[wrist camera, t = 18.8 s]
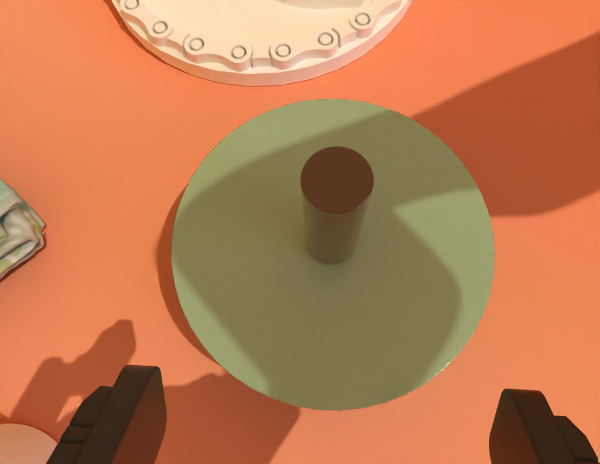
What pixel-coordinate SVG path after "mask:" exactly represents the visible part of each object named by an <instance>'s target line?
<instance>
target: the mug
mask: <svg viewBox="0 0 600 464" xmlns="http://www.w3.org/2000/svg"><path fill="white" fill-rule="evenodd" d="M57 444H58V443H57V442H56V441H55V440H53V439H52V438H51V437H50V436H48V435H47V434H45V433H44V432H42V431H40V430H38V429H36V428H33V427H30V426H27V425H22V424H0V464H46V463H47V461H48V459H49V457H50V456H51V454H52V452H53V451H54V449H55V447H56V446H57Z"/></svg>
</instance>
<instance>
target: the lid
mask: <svg viewBox="0 0 600 464" xmlns="http://www.w3.org/2000/svg"><path fill="white" fill-rule="evenodd" d="M171 259H172V272H173V278H174V285H175V289H176V292H177V296H178V299H179V302H180V305H181V308H182V310H183V312H184V315H185V317H186V319H187V321H188V323H189V326H190V327H191V329H192V330H193V332H194V334H195V335H196V337H197V338H198V340H199V341H200V343H201V344H202V346H203V347H204V348H205V349H206V350H207V351H208V353H209V354H210V355H211V356H212V357H213V359H214V360H215V361H216V362H217V363H218V364H220V365H221V366H222V367H223V368H224V369H225V370H226V371H227V372H228V373H230V374H231V375H232V376H233V377H235V378H236V379H238V380H239V381H241V382H242V383H244V384H245V385H247V386H248V387H250V388H251V389H253V390H255V391H257V392H259V393H261V394H264V395H266V396H268V397H270V398H272V399H275V400H278V401H281V402H284V403H287V404H290V405H293V406H298V407H304V408H310V409H315V410H337V411H341V410H351V409H361V408H366V407H370V406H374V405H379V404H383V403H386V402H389V401H391V400H394V399H396V398H399V397H401V396H404V395H406V394H408V393H410V392H412V391H413V390H415V389H417V388H419V387H420V386H422V385H424V384H426V383H427V382H429V381H430V380H431V379H432V378H434V377H435V376H436V375H437V374H439V373H440V372H441V371H443V370H444V369H445V368H446V367H447V366H448V365H449V364H450V363H451V362H452V361H453V360H454V359H455V358H456V357H457V355H458V354H459V353H460V352H461V351H462V349H463V348H464V347H465V345H466V344H467V342H468V341H469V340H470V338H471V337H472V335H473V334H474V332H475V330H476V328H477V326H478V324H479V322H480V320H481V318H482V316H483V314H484V311H485V308H486V305H487V302H488V299H489V296H490V292H491V287H492V282H493V277H494V263H495V248H494V236H493V230H492V226H491V221H490V217H489V213H488V210H487V207H486V205H485V202H484V199H483V196H482V194H481V192H480V190H479V188H478V186H477V184H476V182H475V181H474V179H473V177H472V175H471V174H470V172H469V171H468V170H467V168H466V167H465V165H464V164H463V162H462V161H461V160H460V159H459V158H458V156H457V155H456V154H455V153H454V152H453V151H452V150H451V149H450V148H449V147H448V145H446V144H445V143H444V142H443V141H442V140H441V139H439V138H438V137H437V136H436V135H435V134H434V133H432V132H431V131H429V130H428V129H426V128H425V127H423V126H422V125H420V124H419V123H418V122H416V121H414V120H412V119H410V118H408V117H406V116H404V115H402V114H400V113H398V112H395V111H393V110H390V109H387V108H385V107H382V106H378V105H374V104H370V103H366V102H362V101H354V100H346V99H318V100H308V101H302V102H297V103H293V104H288V105H285V106H282V107H279V108H276V109H273V110H270V111H267V112H265V113H263V114H261V115H259V116H257V117H255V118H253V119H251V120H249V121H248V122H246V123H245V124H243V125H241V126H240V127H238V128H237V129H235V130H234V131H233V132H231V133H230V134H229V135H228V136H227V137H225V138H224V139H223V140H222V141H221V142H219V143H218V145H217V146H216V147H215V148H214V149H213V150H212V151H211V152H210V153H209V154H208V155H207V156H206V158H205V159H204V160H203V162H202V163H201V164H200V166H199V167H198V168H197V170H196V171H195V173H194V175H193V176H192V178H191V180H190V182H189V184H188V185H187V187H186V189H185V192H184V194H183V197H182V199H181V202H180V204H179V207H178V210H177V214H176V218H175V222H174V226H173V235H172V244H171Z"/></svg>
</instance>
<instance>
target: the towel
mask: <svg viewBox="0 0 600 464" xmlns="http://www.w3.org/2000/svg"><path fill="white" fill-rule="evenodd" d="M44 227H45V223H44V221H43V220H42V219H41V218H40V217H39V216H38V215H37V213H36V212H35V211H34V210H33V209H32V208H31V206H30V205H29V204H28V203H27V202H26V201H25V200H24V199H23V198H22V197H20V196H19V195H18V194H17V193H16V192H15V191H14V190H13V189H12V188H11V187H10V186H9V185H7V184H6V183H5V182H4V181H3V180H2V179H1V178H0V279H1V278H2V277H3V276H4V275H5V274H6V273H7V272H8V271H9V270H11V269H13V268H15V267H16V266H17V265H19V264H20V263H22V262H23V261H25V260H27V259H28V258H30V257H31V256H32V255H34V254H35V252H36V251H37V250H39V249H40V248H42V247H43V245H44V241H43V236H42V235H44V232H43V231H42V230H43V228H44Z"/></svg>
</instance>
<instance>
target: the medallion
mask: <svg viewBox="0 0 600 464" xmlns="http://www.w3.org/2000/svg"><path fill="white" fill-rule="evenodd" d="M111 1H112V3H113V4H114V6H115V8H116V10H117V12H118V13H119V15H120V16H121V18H122V20H123V21H124V23H125V25H126V26H127V28H128V30H129V31H130V32H131V33H132V34H133V35H134V36H135V37H136V38H137V39H138V40H139V41H140V42H141V44H142V45H143V46H144V47H145V48H146V49H148V50H149V51H151V52H152V53H153V54H155V55H156V56H158V57H159V58H160V59H162V60H163V61H165V62H166V63H167V64H170V65H172V66H174V67H176V68H178V69H180V70H182V71H184V72H187V73H189V74H191V75H193V76H197V77H201V78H204V79H208V80H211V81H215V82H219V83H225V84H234V85H243V86H270V85H283V84H288V83H293V82H299V81H304V80H309V79H312V78H315V77H318V76H321V75H323V74H326V73H329V72H332V71H334V70H337V69H339V68H341V67H343V66H345V65H347V64H348V63H350V62H352V61H354V60H356V59H358V58H359V57H361V56H363V55H364V54H366V53H367V52H368V51H369V50H371V49H372V48H373V47H374V46H376V45H377V44H378V43H380V42H381V41H382V40H383V39H385V38H386V36H387V35H388V34H389V33H390V32H391V31H392V30H393V28H394V27H395V26H396V25H397V24H398V23H399V22H400V20H401V19H402V18H403V16H404V15H405V13H406V11H407V9H408V8H409V6H410V4H411V3H412V1H413V0H111Z"/></svg>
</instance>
